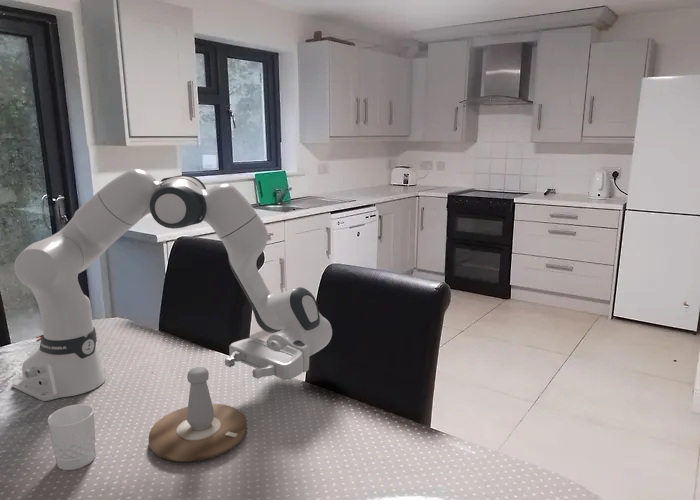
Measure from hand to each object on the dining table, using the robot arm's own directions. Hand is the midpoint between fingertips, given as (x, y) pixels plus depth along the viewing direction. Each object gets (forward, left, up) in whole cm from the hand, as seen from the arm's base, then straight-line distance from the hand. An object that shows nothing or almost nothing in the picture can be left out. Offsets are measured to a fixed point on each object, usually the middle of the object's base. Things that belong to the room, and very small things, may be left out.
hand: (240, 369), depth 115 cm
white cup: (-22, -27, -11) cm, 36 cm away
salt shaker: (-3, -11, -9) cm, 15 cm away
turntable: (-4, -12, -11) cm, 16 cm away
